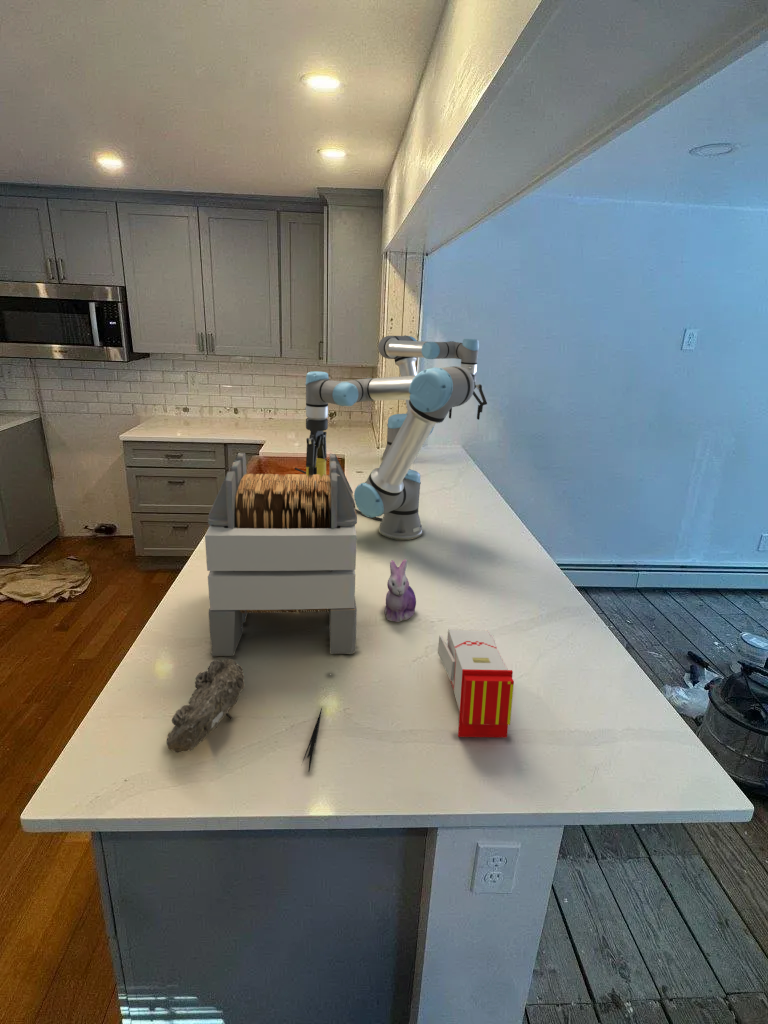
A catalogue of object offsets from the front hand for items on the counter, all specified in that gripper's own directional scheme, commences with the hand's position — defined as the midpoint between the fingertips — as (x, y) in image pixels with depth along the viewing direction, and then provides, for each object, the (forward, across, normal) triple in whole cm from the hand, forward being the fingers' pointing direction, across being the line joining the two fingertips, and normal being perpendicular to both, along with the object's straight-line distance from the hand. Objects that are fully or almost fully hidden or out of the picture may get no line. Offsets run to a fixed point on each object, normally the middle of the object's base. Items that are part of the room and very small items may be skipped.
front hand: (316, 481), depth 203 cm
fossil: (+15, +105, +18) cm, 107 cm away
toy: (+15, +82, +65) cm, 106 cm away
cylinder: (+4, 0, 0) cm, 4 cm away
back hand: (-11, -90, +42) cm, 100 cm away
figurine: (+15, +56, +44) cm, 72 cm away
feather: (+15, +100, +38) cm, 107 cm away
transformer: (+15, +67, +17) cm, 70 cm away
